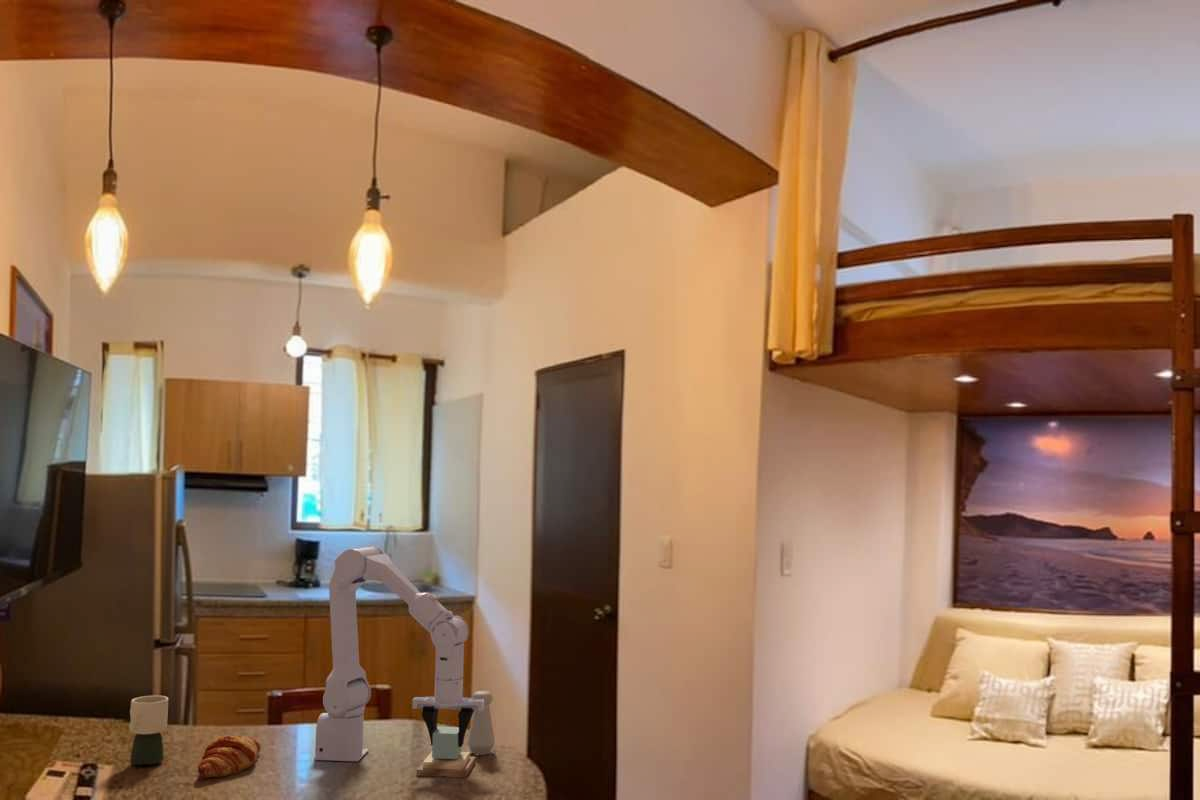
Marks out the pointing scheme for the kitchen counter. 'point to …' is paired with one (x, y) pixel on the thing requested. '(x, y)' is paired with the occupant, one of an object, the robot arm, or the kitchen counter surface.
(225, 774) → the croissant
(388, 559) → the robot arm
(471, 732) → the salt shaker
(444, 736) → the teal block
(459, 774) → the wooden base
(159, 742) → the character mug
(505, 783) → the kitchen counter surface
